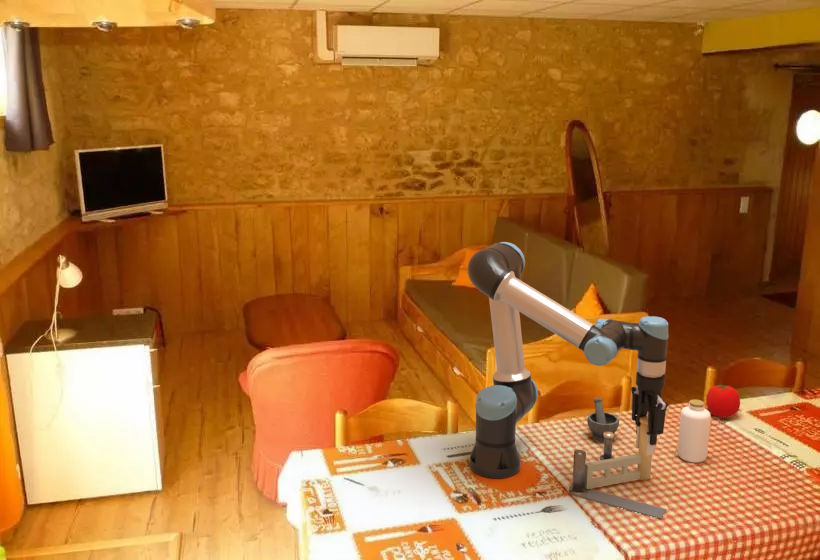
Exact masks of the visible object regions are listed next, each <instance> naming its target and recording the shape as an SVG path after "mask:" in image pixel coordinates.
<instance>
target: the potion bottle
mask: <svg viewBox="0 0 820 560" xmlns="http://www.w3.org/2000/svg"><path fill="white" fill-rule="evenodd" d="M711 415H712V414H711V412H710V411H709V409H706V408H705V403H704V401H703V400H700V399H690V400H689V402H688V406H684V407H683V408H682V409H681V411H680V418H679V429H678V431H679V432H678V440H677V441H678V443H677V455H678V457H680V459H681V460H684V461H685V462H689V463H695V464H696V463H697V464H698V463H702V462H704V461H706V460H707V458H708V450H709V449H708V447H709V439H710V428H711V427H710V426H711V420H712V419H711V418H712V416H711Z"/></svg>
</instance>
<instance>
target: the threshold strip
mask: <svg viewBox="0 0 820 560" xmlns="http://www.w3.org/2000/svg"><path fill="white" fill-rule="evenodd" d="M587 490H588V493H587V494H586V495H582V496H578V497H577V498H580V499H585V500H589V501H592V502H595V503H600V504H602V503H603V505H606V504H608V505H607V506H610V505H611V506H610V507H613V506H615V507H614V508H617V507H619V508H618V509H621V508H623V509H622V510H624V509H626V510H625V511H628V510H630V511H629V512H632V511H633V512H632V513H635V512H637V513H636V514H639V513H641V514H640V515H643V514H644V515H643V516H646V515H649V516H648V517H650V516H652V517H651V518H654V517H657V518H661V519H662V520H663V518H664V516H665V514H666V512H665V511H667V509H666V508H664V507H660V506H656V505H652V504H650V503H649V504H648V503H645V502H641V501H638V500H634V499H629V498H626V497H623V496H619V495H615V494H611V493H606V492H603V491H600V490H595V489H593V488H591V489H587ZM571 496H573V494H572V495H571ZM664 513H665V514H664ZM663 515H664V516H663ZM657 518H656V519H657ZM661 519H660V520H661Z"/></svg>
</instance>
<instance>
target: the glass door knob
mask: <svg viewBox="0 0 820 560" xmlns="http://www.w3.org/2000/svg"><path fill="white" fill-rule="evenodd" d="M603 436H604V442H603V454H601V455H600V456H599V461H601V460H606V459H612V458H615V457H614V456H612V455H613V454H612V453H613V438H614V437H615V433H612V432H604V435H603Z"/></svg>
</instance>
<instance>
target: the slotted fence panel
mask: <svg viewBox="0 0 820 560" xmlns="http://www.w3.org/2000/svg"><path fill="white" fill-rule="evenodd" d="M640 423H641V425H640V439H639V448H638V453H637V454H636V453H635V454H631V455H625V456H623V455H622V456H618V457H614V458H612V459H606V460H601V461H600V460H596V461H591V462H586V463H585V483H584V487H585V488H586V489H595V488H601V487H605V486H611V485H615V484H621V483H626V482H632V481H637V480H646V481H647V480H650V479H651V470H652V456H653V454H651V455H646V454H645V448H646V434H647V432H649V426H648V415H647V416H643V417H640ZM633 465H637V469H635V470H630V471H629V470H628V469H629V468H628V467H629V466H633ZM617 468H621V469H620V472H619V473H612V474H611V469H617ZM600 471H604V473H603V475H602V476H596V477H593V476H594V473H595V472H600Z"/></svg>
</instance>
